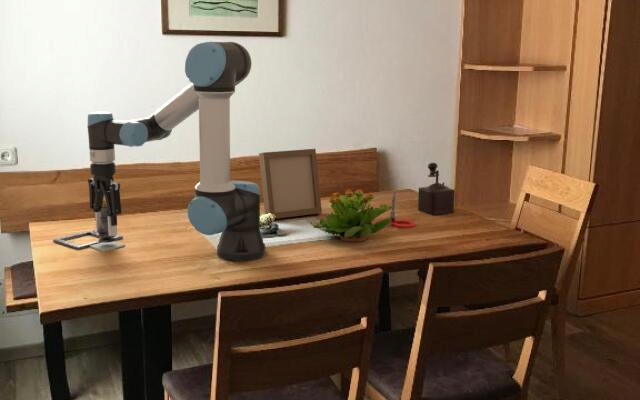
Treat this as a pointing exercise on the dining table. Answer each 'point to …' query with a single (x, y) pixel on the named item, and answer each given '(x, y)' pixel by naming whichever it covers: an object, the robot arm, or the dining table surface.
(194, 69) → the robot arm
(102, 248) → the mat
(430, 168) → the manual coffee grinder
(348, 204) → the potted flower
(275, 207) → the photo frame
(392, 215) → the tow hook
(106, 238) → the dark grey chess piece
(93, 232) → the grey metal rectangular frame
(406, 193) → the dining table surface
